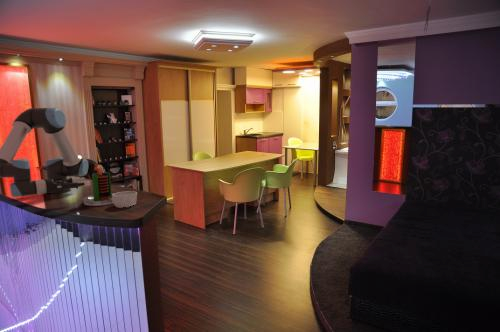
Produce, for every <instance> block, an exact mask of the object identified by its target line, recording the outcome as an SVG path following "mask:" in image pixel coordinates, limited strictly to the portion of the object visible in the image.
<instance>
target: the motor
mask: <svg viewBox="0 0 500 332" xmlns="http://www.w3.org/2000/svg"><path fill="white" fill-rule="evenodd" d="M93 171H97V172H95V173H92V174H91V178H92V179H91V181H92V194H93V197H94V201H102V200H109V199H110V198H112V195H111V193H112V182H111V181H112V180H111V179H112V178H111V172H102V168H101V167H100V166H98V165H96V166H94V167H93Z"/></svg>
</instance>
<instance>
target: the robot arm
mask: <svg viewBox="0 0 500 332" xmlns="http://www.w3.org/2000/svg"><path fill="white" fill-rule="evenodd" d="M66 121H67V119H66V115H65V113H64V112H63V110H62V109H60V108H58V107H31V108H27V109H25V110H23V111H22V112H21V113H20V114H18V116H16V117H15V119H14V120H13V122H12V124H11V126H12V127H11V130H10V132H9V133H8V135H7V136H6V138H5V140H4V142H3V143H2V145H1V146H0V179H1V178H2V179H3V178H5V179H6V178H7V179H8V178H11V179H12V178H13V182H10V184H9V189H10V195H11V196H12V197H13V198H19V197H28V196H35V195H38V196H41V195H43V194H47V193H55V194H54V195H56V194H63V193H68V192H71V189H79V188H81V187H89V186H91V180H85V179H86V178H85V177H84V176H86V175H87V174H88V172H89V171H88V170H89V161H88V159H86V158H83V157H82V155H80V154H79V153H77V152H76V150H75V147H74V145H73V144H72V141H71V140H70V138H69V136H68V134H67V132H66V130H65V127H66V123H67V122H66ZM40 128H41V129H42V130H43V131H44V133H46V134H47V135H49V136H50V138H51V140H52V141H53V143H54V145H55V147H56V148H57V151H58V152H59V154H60V155H61V157H57V158H56V157H54V158H50V159H47V160H46V161H45V171H46V178H45V179H36V180H32V174H31V166H30V162H29V159H27V158H17V159H14V158H15V157H16V154H17V153H18V151H19V149H20V148H21V146H22V144H23V142H24V140H25V138H26V137H27V136H28V135H27V134H29V133H31V132H32V130H34V129H40ZM68 177H69V178H68ZM72 177H77V178H72Z"/></svg>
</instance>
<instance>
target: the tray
mask: <svg viewBox="0 0 500 332" xmlns="http://www.w3.org/2000/svg"><path fill="white" fill-rule="evenodd" d="M113 194H114V193H112V192H111V195H113ZM82 202H83V204H84V206H88V207H100V206H101V207H102V206H103V207H104V206H108V205H113V204H114V201H113V198H110V199H109V200H102V201H94V197H93V195H89V196H86V197H84V198H82Z"/></svg>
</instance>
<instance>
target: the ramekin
mask: <svg viewBox="0 0 500 332" xmlns="http://www.w3.org/2000/svg"><path fill="white" fill-rule="evenodd" d="M112 194H113V195H112V198H113V201H114V206H115V208H118V209H124V208H123V207H126V208H131V207H134V206H136V204H137V197H138V192H137V191H134V190H128V191H126V190H125V191H119V192H118V191H117V192H116V193H112ZM133 205H134V206H133ZM130 206H131V207H130Z"/></svg>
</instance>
